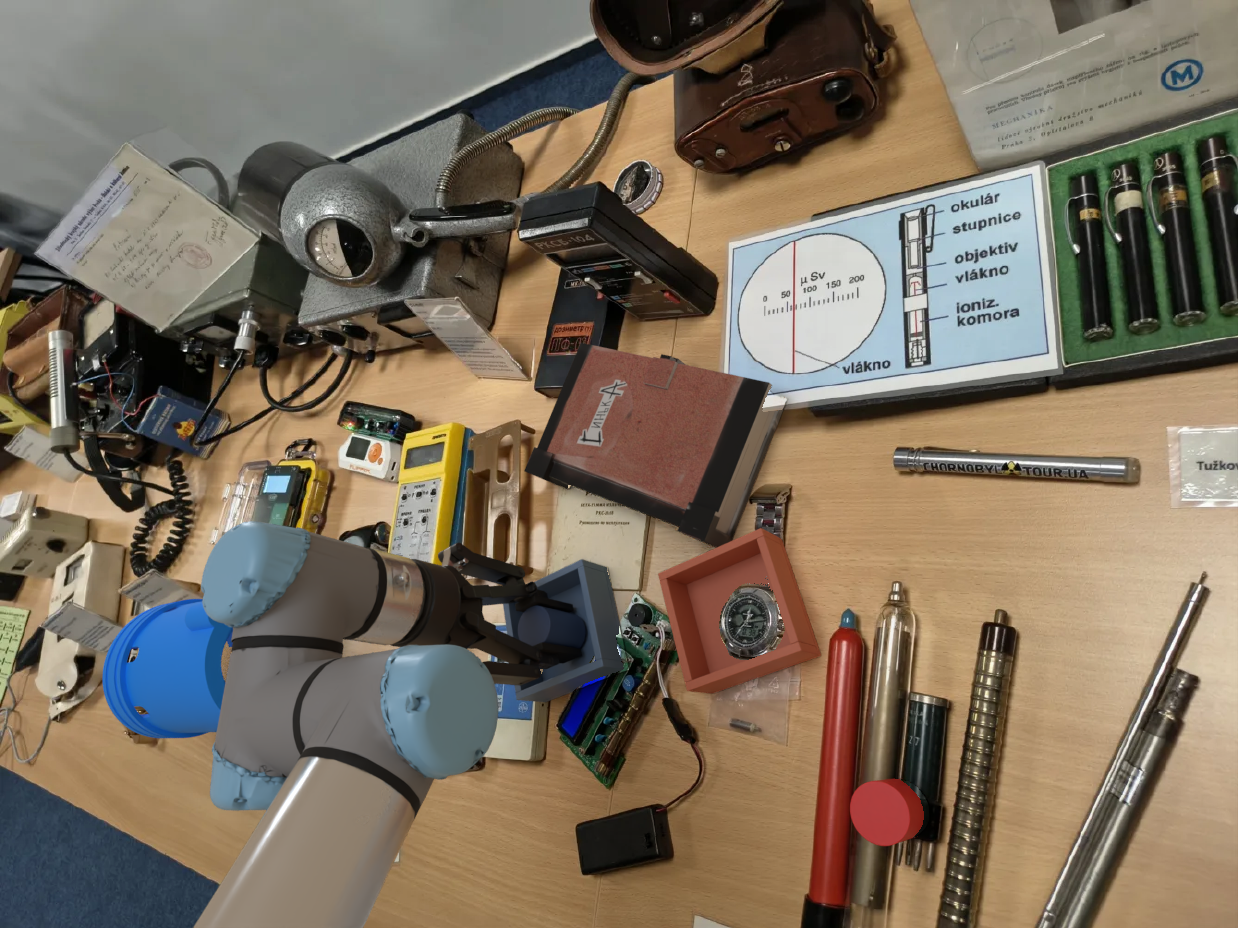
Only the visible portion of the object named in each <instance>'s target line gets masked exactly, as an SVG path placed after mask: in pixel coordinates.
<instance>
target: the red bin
mask: <svg viewBox="0 0 1238 928" xmlns="http://www.w3.org/2000/svg"><path fill="white" fill-rule="evenodd" d="M657 576H658V578H659V579H658V580H659V583H660V588H661V592H662V597H663V600H664V604H665V608H666V612H667V616H668V620H669V624H670V628H671V632H672V636H673V640H674V644H675V648H676V653H677V656H678V657H677V658H678V660H679V665H680V668H681V669H680V670H681V673H682V676H683V681H684V684H685V689H686V691H687V692H693V693H700V694H701V693H702V694H709V695H712V694H716V693H718V692H721V691H724V690H727V689H730V688H732V687H736V686H739V685H741V684H744V683H747V682H750V681H753V680H755V679H758V678H762V677H765V676H768V675H770V674H773V673H775V672H779V671H781V670H785V669H788V668H791V667H793V666H796V665H799V664H802V663H804V662H807V661H810V660H814V659H816V658H819V657H821V656H822V653H821V651H820V647H819V644H818V641H817V638H816V636H815V632H814V629H813V627H812V624H811V621H810V619H809V618H810V617H809V615H808V612H807V609H806V606H805V604H804V601H803V597H802V594H801V592H800V589H799V586H798V583H797V579H796V576H795V573H794V570H793V568H792V565H791V562H790V559H789V556H788V552H787V550H786V548H785V544H784V542H783V539H782V538H781V537H779V536H777V535H775V534H774V533H772V532H770V531H768V530H766V529H764V528H762V527H760V528H757V529H756V530H753V531H751V532H748V533H746V534H744V535H742V536H740V537H738V538H734V539H733V540H732V541H731V542H728V543H726V544H724V545H722V546H719V547H714V548H713V549H710V550H707V551H706V552H703V553H702V554H699V555H697V556H694V557H693V558H690V559H688V560H686V561H683V562H681V563H679V564H676V565H674V566H672V567H670V568H667V569H666V570H663V571H661V572H658V573H657ZM766 576H767V577H766ZM765 578H766V579H765ZM767 579H768V580H767ZM745 583H746V584H747V583H748V584H749V583H750V584H754V583H755V584H759V585H760V584H761V583H762V584H761V585H763V584H764V585H763V586H765V584H766V585H767V584H768V583H769V584H768V587H769V586H770V588H769V589H771V591H772V590H773V592H774V595H775V598H776V601H777V604H778V607H779V610H780V614H781V617H782V620H783V623H784V626H785V632H784V634H783V637H782V640H781V642H780V644H778V646H777V648H776V650H774V651H771V652H768V653H766V654H763V655H760V656H757V657H755V658H752V659H749V660H739V659H736V658H734V657H733V656H730V655H729V653H728V650H727V648H726V646H725V644H724V643H723V641H722V639H721V636H720V629H719V621H720V615H721V611H722V608H723V606H724V605H725V603H726V602H727V601H728V599H729V597H730V595H732V593H733V592H734V591H735V589H737V588H738V587H739V586H741V585H742V584H745ZM755 584H754V585H755Z"/></svg>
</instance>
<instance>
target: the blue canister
mask: <svg viewBox="0 0 1238 928" xmlns="http://www.w3.org/2000/svg"><path fill="white" fill-rule="evenodd" d="M518 636H519V639H520V641H522V642H525V643H527V644H529V645H531V646H534V645H536V644H539V643H541V642H544V643H550V644H556V645H561V646H567V647H573V648H580V647H581V646H582V644H583V641H584V638H585V625H584V623H583V621H582V619H581V618H580V617H579V616H578V615H576V614H573V613H568V612H564V611H560V610H555V609H551V608H546V607H542V606H532V607H530V608H528V609H527V610H526V611H525V612H524V613H523V614H522V616H521V618H520V620H519V624H518Z"/></svg>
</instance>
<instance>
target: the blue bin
mask: <svg viewBox="0 0 1238 928" xmlns="http://www.w3.org/2000/svg"><path fill="white" fill-rule="evenodd" d="M607 567H608V566H605V565H602V564H599V563H596V562H593V561H589V560H587V559H583V558H581V559H579V560H577V561H575V562H572V563H571V564H568V565H566V566H564V567H562V568H560V569H558V570H557V571H553V572H552V573H550V574H548V575H546V576H543V577H541V578H540V579H539V578H538V579H537V580H535V581H533V582H534V583H535V584H536V585H537V589H538V590H542V591H545V592H546V593H547V595H548V598H549V599H553V600H557V601H561V602H565V603H570V604H573V608H574V611H572V612H570V613H573V614H576V615H578V616H579V617H580V618H581V619H582V621H583V623H584V625H585V638H584V641H583V644H582V646H581V647H580V648H579V649H581V652H582V656H580V657H578V658H576V659H573V660H571V661H568V662H566V663H563V664H561V663H559V664H558V665H556V666H553V667H551V668H548V669H543V672H542V674H541V677H540V678H538V679H535V680H533V681H530V682H528V683H525V684H523V685H513V686H514V691H515V692H514V693H515V698H516V699H515V700H516V701H520V702H521V701H523V702H535V703H548V702H550V701H552V700H555V699H559V698H561V697H563V696H566V695H568V694H571V693H574V692H575V691H574V690H575V689H576V688H577V687H579V686H581V685H583V684H585V683H588V682H590V681H593V680H595V679H598V678H600V677H603V676H606V675H609V674H612V673H616V672H618V671H621V670H623V669H624V667H623V663H622V662H621V661H622V660H621V657H620V655H619V652H618V649H617V640H616V635H618V634H619V626H620V627H621V622H620V617H619V614H618V607H617V603H616V600H615V594H614V590H613V586H612V587H611V585H612V581H611V582H610V580H611V578H610V579H609V576H610V574H609V575H608V572H607ZM516 603H518V602H514V603H508V604H502V607H503V616H504V619H505V620H504V621H505V626H506V634H508V635H510V636H512V637H514V638H516V639H518V640H520V639H519V636H518V624H519V620H520V618H521V616H522V614H523V613H524V612H520V611H516V607H515V604H516ZM593 656H595V660H596V661H594V662H592V663H589V662H590V661H591V660H592V658H593ZM573 691H574V692H573Z"/></svg>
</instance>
